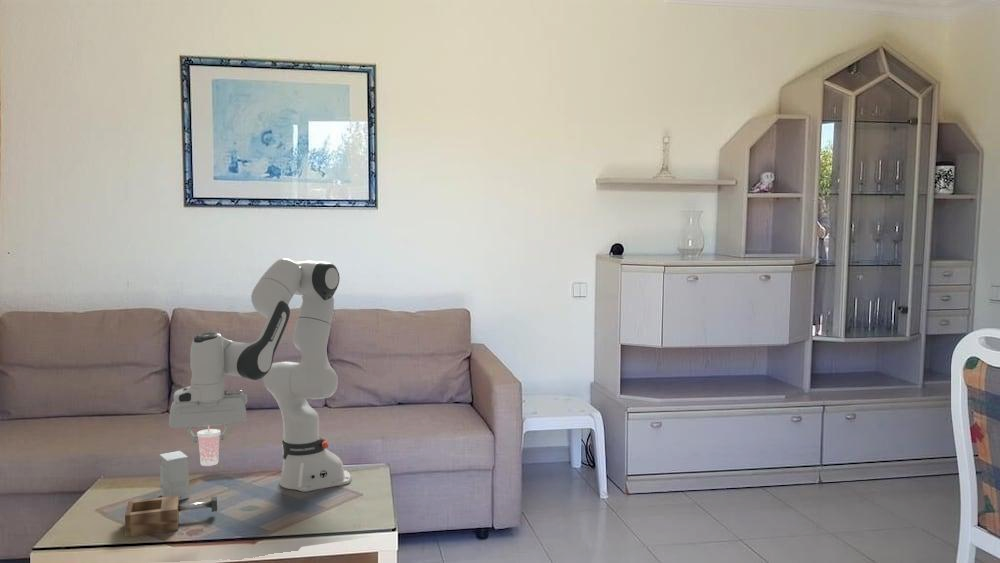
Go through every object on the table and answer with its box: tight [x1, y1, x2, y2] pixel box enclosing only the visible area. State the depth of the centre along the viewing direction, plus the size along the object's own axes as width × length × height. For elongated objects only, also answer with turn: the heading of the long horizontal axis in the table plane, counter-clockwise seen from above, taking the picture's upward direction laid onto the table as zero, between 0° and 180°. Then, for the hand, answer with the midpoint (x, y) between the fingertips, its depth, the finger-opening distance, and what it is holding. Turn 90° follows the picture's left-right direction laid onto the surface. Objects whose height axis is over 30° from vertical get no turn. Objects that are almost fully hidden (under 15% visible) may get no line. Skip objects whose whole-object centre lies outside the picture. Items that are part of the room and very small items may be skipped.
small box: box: [159, 450, 190, 501], centre depth 240 cm, size 8×6×13 cm
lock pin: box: [178, 496, 218, 513], centre depth 223 cm, size 13×3×3 cm, turn 111°
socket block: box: [124, 496, 180, 538], centre depth 218 cm, size 13×11×6 cm
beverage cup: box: [196, 426, 222, 467], centre depth 218 cm, size 6×6×14 cm
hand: (208, 440), depth 218 cm, fingers closed on beverage cup, 6 cm apart
